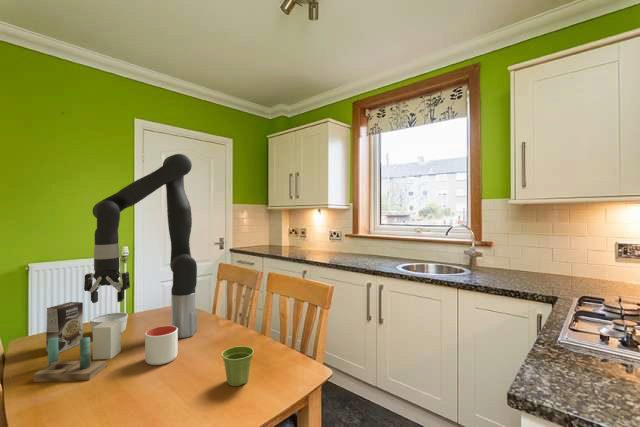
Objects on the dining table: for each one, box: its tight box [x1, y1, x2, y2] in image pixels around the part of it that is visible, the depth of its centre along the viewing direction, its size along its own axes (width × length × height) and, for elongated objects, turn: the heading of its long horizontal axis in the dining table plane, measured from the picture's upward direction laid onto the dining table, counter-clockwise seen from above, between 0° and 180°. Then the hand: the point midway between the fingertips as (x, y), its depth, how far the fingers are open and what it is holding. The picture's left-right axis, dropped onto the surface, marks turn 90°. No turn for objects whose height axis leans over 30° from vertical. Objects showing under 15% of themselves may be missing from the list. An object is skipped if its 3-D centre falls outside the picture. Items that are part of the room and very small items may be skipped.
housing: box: [92, 321, 122, 360], centre depth 110 cm, size 6×6×11 cm
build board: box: [33, 360, 80, 383], centre depth 97 cm, size 8×8×2 cm
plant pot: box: [220, 345, 255, 387], centre depth 93 cm, size 9×9×9 cm
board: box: [61, 336, 107, 382], centre depth 97 cm, size 8×8×11 cm
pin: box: [47, 337, 59, 366], centre depth 102 cm, size 3×3×9 cm
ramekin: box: [89, 312, 129, 335], centre depth 131 cm, size 13×13×7 cm
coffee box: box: [45, 301, 84, 354], centre depth 117 cm, size 9×6×16 cm
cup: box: [144, 325, 179, 366], centre depth 107 cm, size 10×10×10 cm
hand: (107, 302), depth 110 cm, fingers open, 8 cm apart
